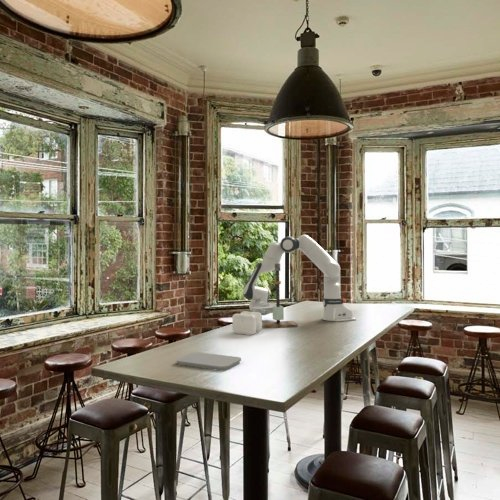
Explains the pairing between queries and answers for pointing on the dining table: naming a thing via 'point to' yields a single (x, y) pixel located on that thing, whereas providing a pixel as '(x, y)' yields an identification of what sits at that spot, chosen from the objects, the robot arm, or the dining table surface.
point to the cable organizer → (247, 322)
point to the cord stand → (278, 323)
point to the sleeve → (278, 313)
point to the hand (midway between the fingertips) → (272, 311)
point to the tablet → (209, 361)
